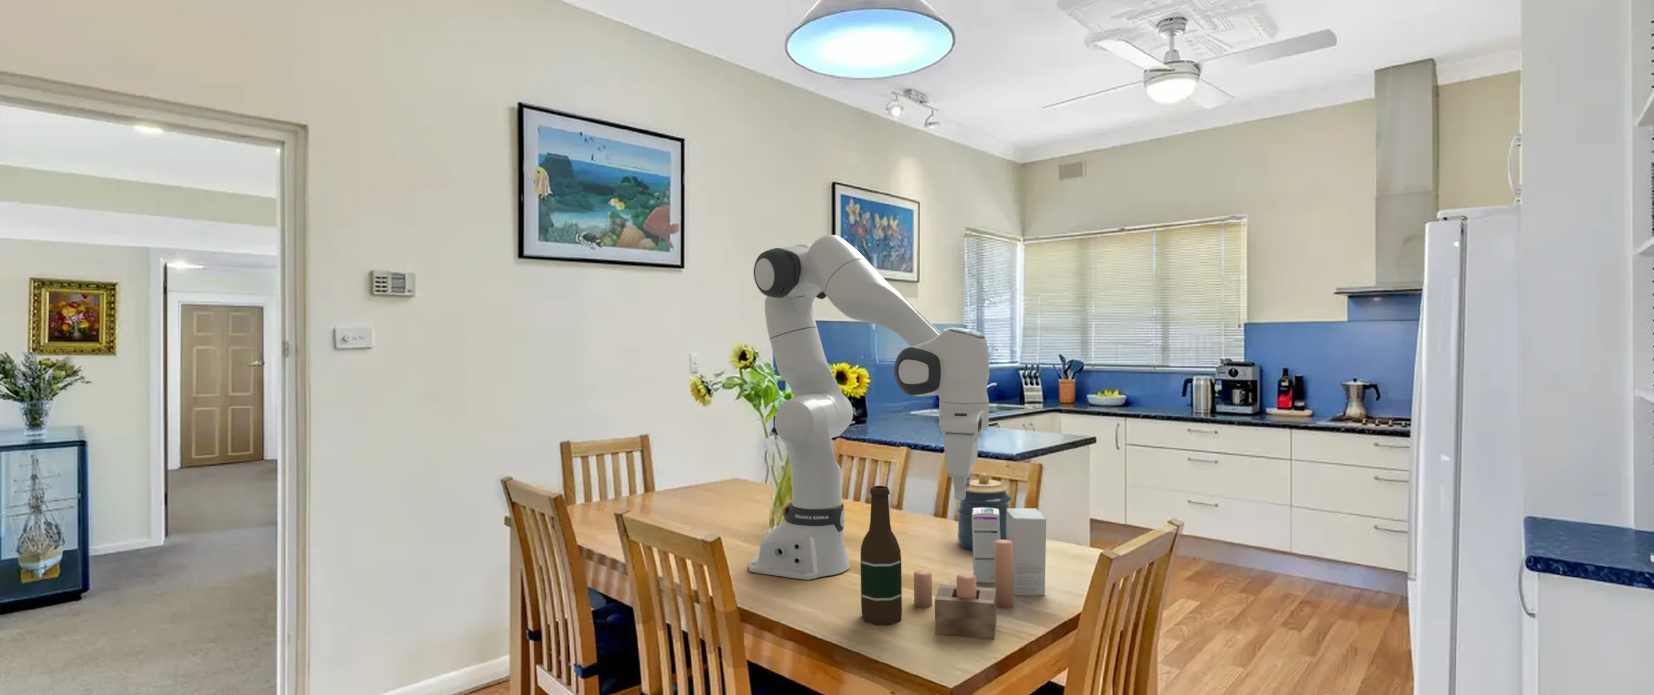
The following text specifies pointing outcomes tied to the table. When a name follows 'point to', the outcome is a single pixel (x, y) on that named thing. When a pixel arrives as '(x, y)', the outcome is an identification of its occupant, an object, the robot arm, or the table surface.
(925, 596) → the pin short
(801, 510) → the robot arm
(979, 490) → the canister
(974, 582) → the pin medium
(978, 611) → the hole block
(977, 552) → the syrup box
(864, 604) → the beer bottle
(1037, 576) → the skincare box
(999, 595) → the pin long
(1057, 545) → the table surface
